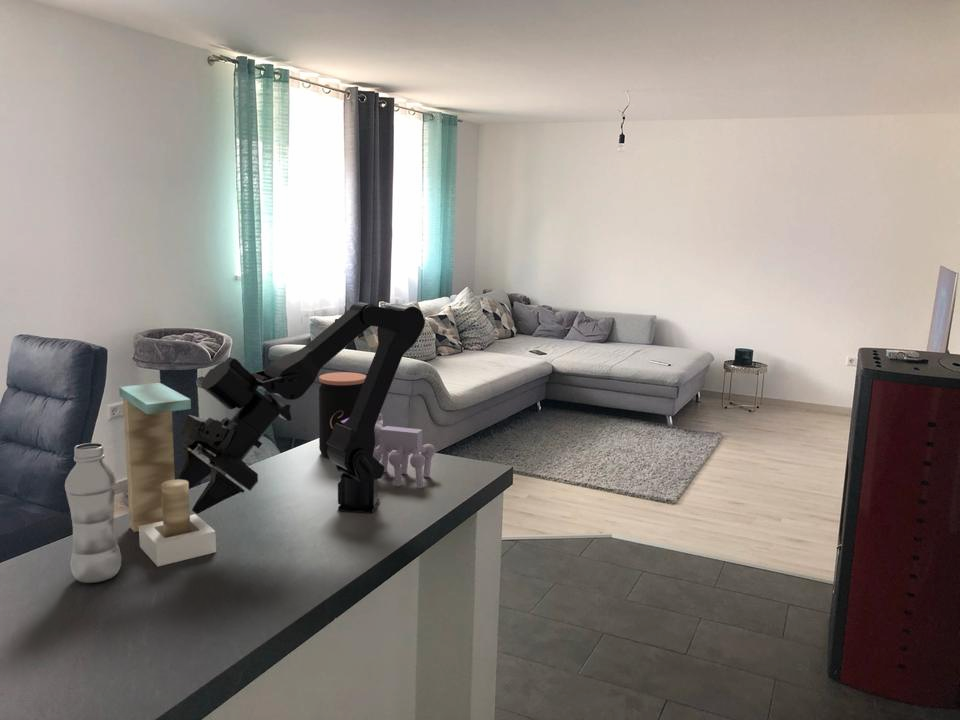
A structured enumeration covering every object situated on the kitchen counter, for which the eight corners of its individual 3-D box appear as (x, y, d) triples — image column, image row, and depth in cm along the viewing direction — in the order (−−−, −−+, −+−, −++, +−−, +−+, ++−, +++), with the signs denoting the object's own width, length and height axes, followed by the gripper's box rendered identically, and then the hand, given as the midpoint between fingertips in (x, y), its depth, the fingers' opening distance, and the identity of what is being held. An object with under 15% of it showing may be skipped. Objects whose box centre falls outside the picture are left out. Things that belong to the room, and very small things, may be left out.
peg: (196, 548, 125) (193, 482, 123) (174, 556, 122) (171, 489, 120) (181, 542, 127) (178, 477, 125) (159, 550, 124) (155, 484, 122)
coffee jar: (327, 463, 171) (326, 382, 167) (313, 450, 180) (313, 373, 177) (373, 457, 175) (373, 379, 172) (358, 445, 185) (358, 370, 182)
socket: (196, 533, 131) (195, 514, 130) (216, 552, 124) (215, 531, 123) (139, 546, 125) (138, 526, 124) (157, 566, 118) (156, 544, 118)
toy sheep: (328, 480, 159) (329, 414, 158) (350, 467, 170) (352, 406, 168) (420, 491, 154) (423, 423, 153) (437, 477, 164) (440, 414, 163)
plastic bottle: (130, 578, 114) (122, 446, 111) (81, 593, 109) (72, 455, 106) (111, 564, 118) (104, 437, 115) (64, 578, 113) (55, 446, 110)
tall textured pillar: (171, 518, 137) (165, 382, 133) (202, 546, 126) (197, 398, 121) (126, 528, 132) (119, 386, 128) (154, 558, 121) (146, 404, 117)
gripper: (192, 386, 131) (127, 461, 126) (235, 408, 117) (164, 493, 112) (239, 424, 138) (179, 497, 133) (285, 449, 123) (220, 531, 119)
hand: (184, 503), depth 124 cm, fingers open, 9 cm apart
